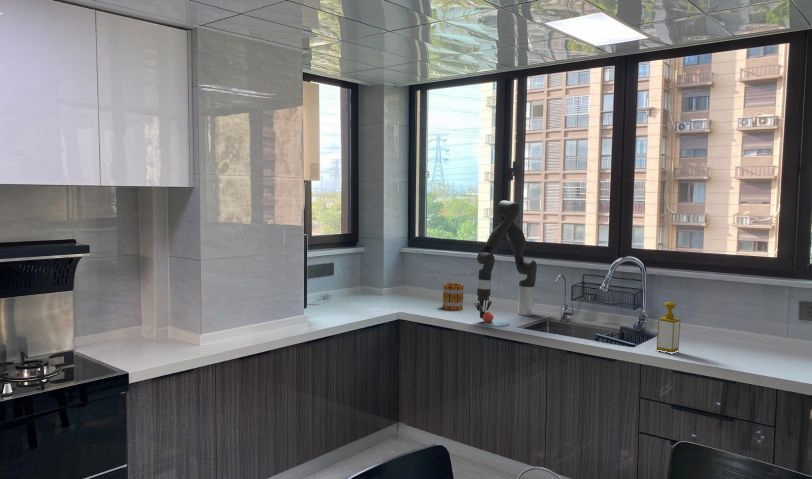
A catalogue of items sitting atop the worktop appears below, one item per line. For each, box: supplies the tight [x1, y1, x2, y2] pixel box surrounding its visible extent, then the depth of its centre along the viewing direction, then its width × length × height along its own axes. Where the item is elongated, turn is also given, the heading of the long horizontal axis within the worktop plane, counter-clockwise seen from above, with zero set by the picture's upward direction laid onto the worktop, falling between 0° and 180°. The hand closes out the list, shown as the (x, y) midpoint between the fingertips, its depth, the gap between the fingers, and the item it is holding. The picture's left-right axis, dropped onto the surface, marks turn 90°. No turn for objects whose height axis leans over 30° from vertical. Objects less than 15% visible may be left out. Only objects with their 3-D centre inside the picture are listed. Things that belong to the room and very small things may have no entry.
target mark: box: [483, 320, 510, 328], centre depth 335 cm, size 14×14×1 cm
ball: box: [482, 311, 494, 323], centre depth 338 cm, size 6×6×6 cm
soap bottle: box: [656, 301, 681, 352], centre depth 281 cm, size 7×13×24 cm, turn 134°
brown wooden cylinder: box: [441, 282, 465, 311], centre depth 382 cm, size 20×14×15 cm
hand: (482, 318), depth 341 cm, fingers closed
